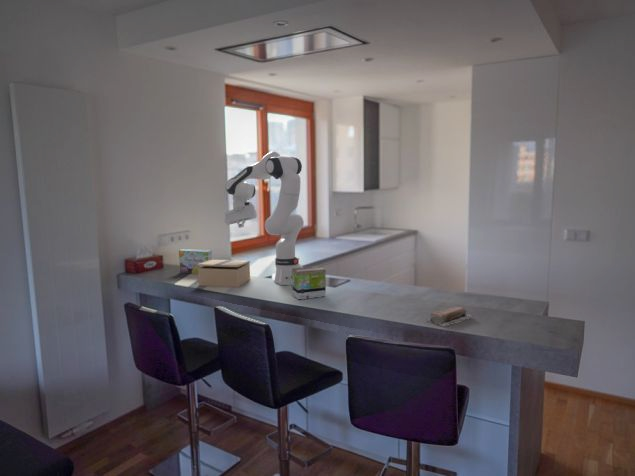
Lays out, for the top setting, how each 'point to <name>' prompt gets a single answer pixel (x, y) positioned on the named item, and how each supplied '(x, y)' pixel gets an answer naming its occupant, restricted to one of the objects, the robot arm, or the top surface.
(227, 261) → the carton lid
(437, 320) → the packaged product
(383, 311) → the top surface
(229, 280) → the carton
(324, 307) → the top surface
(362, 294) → the top surface
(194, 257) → the snack box
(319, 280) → the tea box
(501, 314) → the top surface
